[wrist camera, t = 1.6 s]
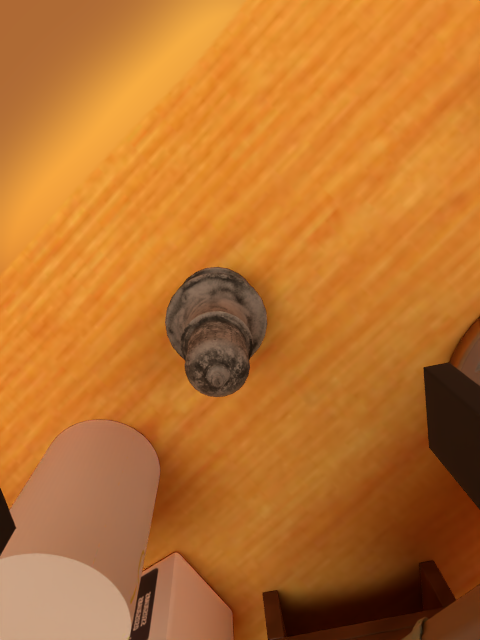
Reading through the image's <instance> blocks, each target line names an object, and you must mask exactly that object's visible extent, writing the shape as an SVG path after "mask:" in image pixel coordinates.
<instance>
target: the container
mask: <svg viewBox="0 0 480 640" xmlns="http://www.w3.org/2000/svg"><path fill="white" fill-rule="evenodd" d="M129 640H234V637H233V614H232V611H231V609H230V608H229V607H228V606H227V605H226V604H225V603H224V602H223V601H222V599H221V598H220V597H219V596H218V595H217V594H216V593H215V592H214V591H213V590H212V589H211V587H210V586H209V585H208V584H207V583H206V582H205V581H204V580H203V579H202V578H201V577H200V576H199V574H198V573H197V572H196V571H195V570H194V569H193V568H192V567H191V566H190V565H189V564H188V563H187V561H186V560H185V559H184V558H183V557H182V556H181V555H180V554H179V553H176V552H175V553H173V554H171V555H169V556H168V557H166V558H164V559H163V560H161V561H160V562H158V563H156V564H155V565H153V566H151V567H150V568H148V569H146V570H145V571H143V572H142V574H141V579H140V585H139V590H138V595H137V601H136V606H135V611H134V616H133V622H132V627H131V632H130V637H129Z"/></svg>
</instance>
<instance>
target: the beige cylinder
mask: <svg viewBox="0 0 480 640" xmlns="http://www.w3.org/2000/svg"><path fill="white" fill-rule="evenodd" d="M159 478H160V464H159V460H158V457H157V454H156V452H155V450H154V448H153V447H152V445H151V444H150V442H149V441H148V440H147V439H146V438H145V437H144V436H143V435H142V434H140V433H139V432H138V431H136V430H135V429H133V428H131V427H129V426H127V425H125V424H122V423H119V422H115V421H110V420H90V421H85V422H81V423H78V424H75V425H73V426H71V427H69V428H67V429H66V430H64V431H63V432H62V433H61V434H59V435H58V436H57V437H56V438H55V440H54V441H53V442H52V444H51V445H50V447H49V449H48V450H47V452H46V453H45V455H44V456H43V458H42V460H41V461H40V463H39V464H38V466H37V468H36V469H35V471H34V472H33V474H32V475H31V477H30V479H29V480H28V482H27V483H26V485H25V487H24V488H23V490H22V491H21V493H20V494H19V496H18V498H17V499H16V501H15V502H14V504H13V506H12V507H11V509H10V510H9V511H10V513H11V516H12V518H13V521H14V523H15V526H16V529H15V531H14V533H13V534H12V536H11V538H10V540H9V541H8V543H7V545H6V547H5V548H4V550H3V552H2V554H1V556H0V640H129V637H130V632H131V627H132V622H133V616H134V611H135V606H136V601H137V595H138V590H139V585H140V579H141V574H142V569H143V563H144V558H145V553H146V547H147V542H148V537H149V531H150V526H151V521H152V515H153V510H154V505H155V500H156V494H157V489H158V484H159Z"/></svg>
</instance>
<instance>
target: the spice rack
mask: <svg viewBox="0 0 480 640" xmlns="http://www.w3.org/2000/svg"><path fill="white" fill-rule="evenodd" d="M419 567H420V579H421V591H422V602H423V611H421V612H416V613H411V614H406V615H400V616H395V617H390V618H385V619H379V620H374V621H369V622H364V623H359V624H353V625H348V626H343V627H338V628H332V629H327V630H322V631H317V632H311V633H306V634H301V635H296V636H290V637H287V636H286V631H285V627H284V622H283V617H282V612H281V607H280V602H279V597H278V592H277V590H276V591H271V592H265V593H263V601H264V610H265V618H266V627H267V635H268V640H402V639H403V638H404V637H406V636H407V635H408V634H409V633H411V632H412V630H413V627H414V626H415V624H416V623H417V621H418V620H420V619H422V618H424V617H427V618H428V619H430V618H432V617H433V616H434V615H436V614H437V613H439V612H440V611H442V610H443V609H445V608H446V607H447V606H449V605H450V604H452V603H453V602H455V601H456V598H455V597H454V595H453V593H452V592H451V590H450V588H449V586H448V585H447V583H446V581H445V580H444V578H443V576H442V574H441V573H440V571H439V569H438V568H437V566H436V564H435V562H434V561H428V562H423V563H419Z"/></svg>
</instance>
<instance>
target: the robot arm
mask: <svg viewBox="0 0 480 640" xmlns="http://www.w3.org/2000/svg"><path fill="white" fill-rule="evenodd" d="M424 382H425V396H426V410H427V425H428V439H429V448H430V449H431V450H432V452H433V453H434V454H435V455H436V457H437V458H438V459H439V460H440V461H441V463H442V464H443V465H444V466H445V468H446V469H447V470H448V471H449V472H450V474H451V475H452V476H453V477H454V479H455V480H456V481H457V482H458V483H459V485H460V486H461V487H462V488H463V490H464V491H465V492H466V493H467V495H468V496H469V497H470V498H471V499H472V501H473V502H474V503H475V504H476V506H477V507H478V508H479V509H480V317H479V318H478V320H477V321H476V322H475V323H474V324H473V325H472V326H471V327H470V329H469V330H468V331H467V332H466V334H465V335H464V336H463V338H462V340H461V341H460V343H459V344H458V346H457V348H456V350H455V352H454V353H453V356H452V358H451V360H450V363H444V364H438V365H433V366H428V367H424ZM15 529H16V526H15V523H14V521H13V518H12V516H11V513H10V511H9V508H8V506H7V503H6V501H5V498H4V496H3V494H2V491H1V489H0V556H1V554H2V552H3V550H4V548H5V547H6V545H7V543H8V541H9V540H10V538H11V536H12V534H13V533H14V531H15ZM402 640H480V584H479V585H478V586H476V587H475V588H473V589H472V590H470V591H469V592H468V593H466V594H465V595H463V596H462V597H460V598H459V599H457V600H456V601H455V602H453V603H452V604H450V605H449V606H447V607H446V608H445V609H443V610H442V611H440V612H439V613H437V614H436V615H434V616H433V617H432V618H430V619H428V618H427V617H424V618H422V619H420V620H418V621H417V623H416V624H415V626H414V627H413V630H412V632H411V633H409V634H408V635H407V636H406V637H404V638H403V639H402Z"/></svg>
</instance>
